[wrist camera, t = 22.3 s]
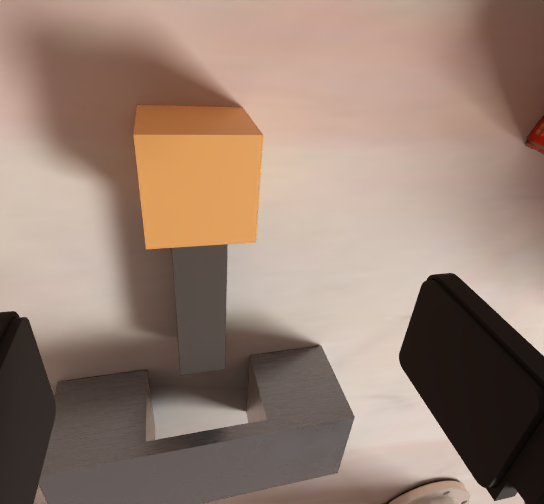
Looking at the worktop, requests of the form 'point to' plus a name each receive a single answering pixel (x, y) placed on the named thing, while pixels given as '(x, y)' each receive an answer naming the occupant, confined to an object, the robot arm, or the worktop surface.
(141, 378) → the housing
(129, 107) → the worktop surface
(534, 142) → the medicine box
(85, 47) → the worktop surface
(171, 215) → the plug
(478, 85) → the worktop surface
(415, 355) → the robot arm
